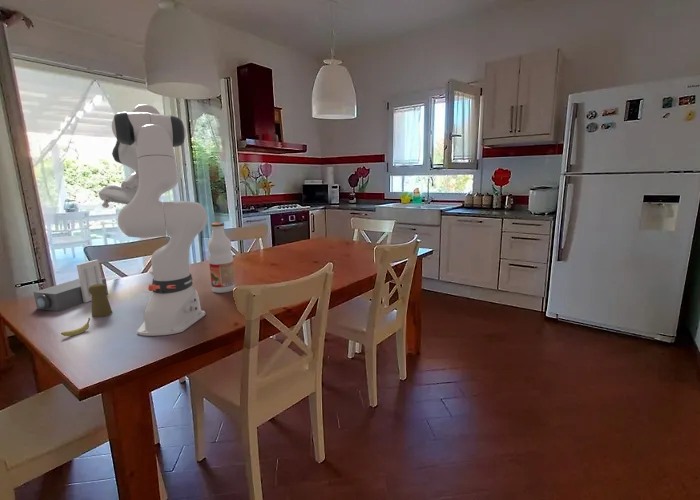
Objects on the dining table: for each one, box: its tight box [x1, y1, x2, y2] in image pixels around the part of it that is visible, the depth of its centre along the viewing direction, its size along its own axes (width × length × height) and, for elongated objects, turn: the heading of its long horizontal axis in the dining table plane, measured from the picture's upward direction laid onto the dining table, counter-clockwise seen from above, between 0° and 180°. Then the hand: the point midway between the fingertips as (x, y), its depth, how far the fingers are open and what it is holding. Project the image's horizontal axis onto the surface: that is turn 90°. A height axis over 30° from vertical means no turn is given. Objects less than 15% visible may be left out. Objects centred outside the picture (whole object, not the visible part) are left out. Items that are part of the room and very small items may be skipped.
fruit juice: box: [207, 222, 236, 294], centre depth 151 cm, size 9×9×28 cm
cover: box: [76, 259, 103, 303], centre depth 144 cm, size 8×2×15 cm, turn 164°
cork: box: [89, 284, 113, 318], centre depth 129 cm, size 6×6×11 cm
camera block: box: [33, 277, 109, 312], centre depth 143 cm, size 22×11×7 cm, turn 164°
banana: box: [60, 317, 91, 337], centre depth 114 cm, size 8×2×4 cm, turn 150°
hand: (115, 208), depth 151 cm, fingers open, 8 cm apart
